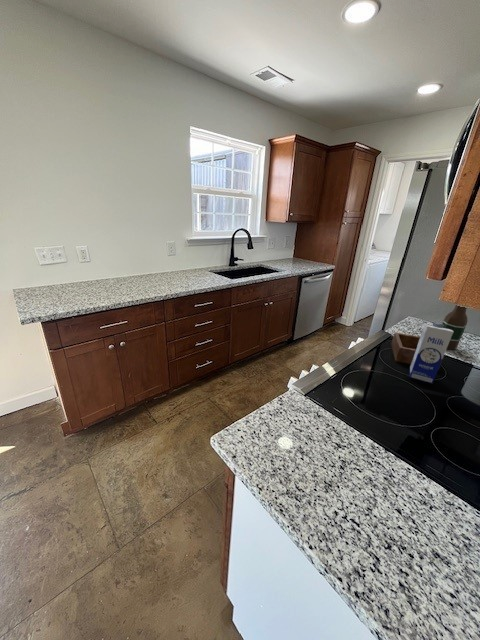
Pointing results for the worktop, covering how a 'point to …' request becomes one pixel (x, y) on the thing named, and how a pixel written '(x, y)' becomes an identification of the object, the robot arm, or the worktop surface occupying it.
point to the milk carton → (430, 352)
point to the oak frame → (405, 347)
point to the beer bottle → (455, 325)
